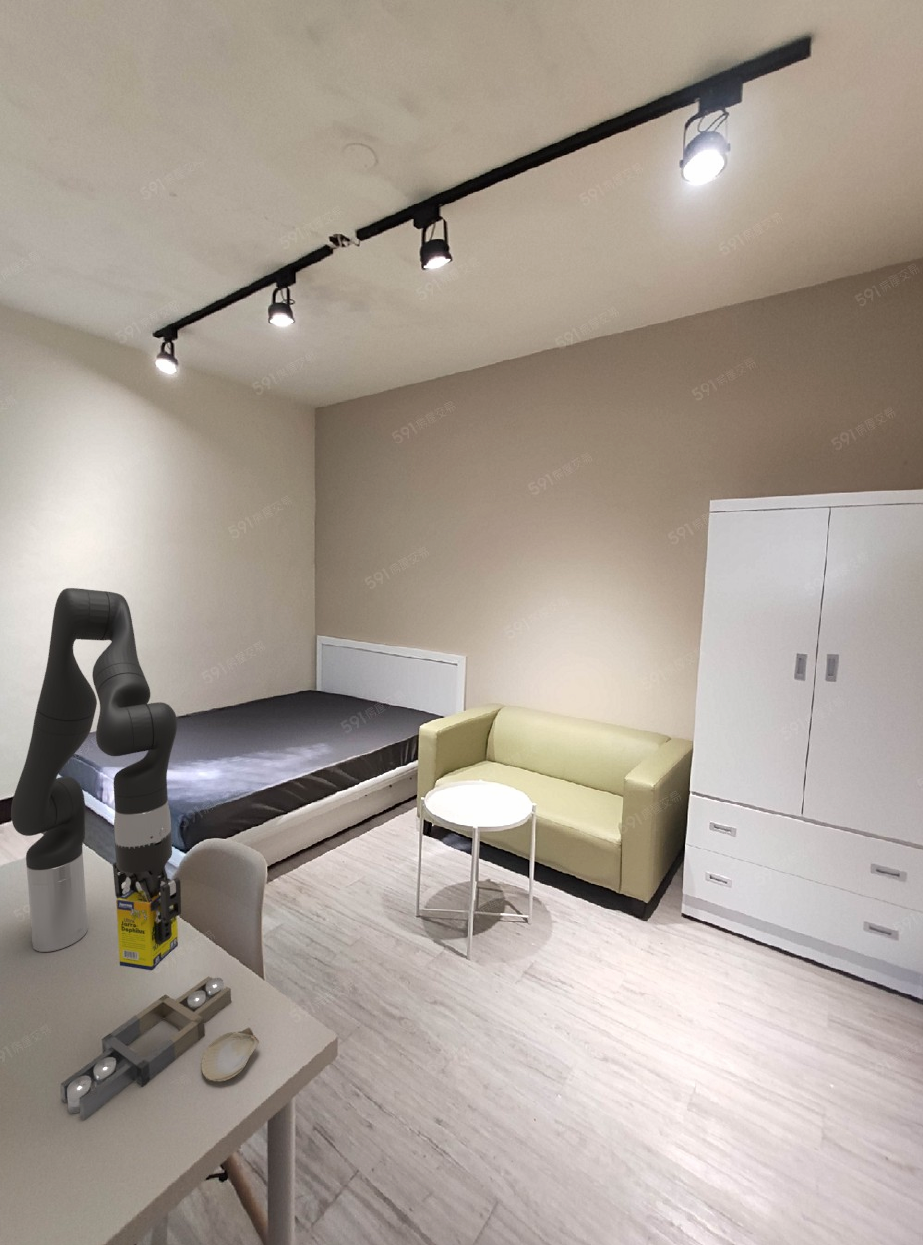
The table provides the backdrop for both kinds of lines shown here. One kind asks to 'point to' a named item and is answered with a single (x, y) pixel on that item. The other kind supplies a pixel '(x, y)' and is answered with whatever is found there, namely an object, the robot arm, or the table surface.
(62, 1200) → the table surface
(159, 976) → the table surface
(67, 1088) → the frame
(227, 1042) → the seashell
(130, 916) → the supplement box
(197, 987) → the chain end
